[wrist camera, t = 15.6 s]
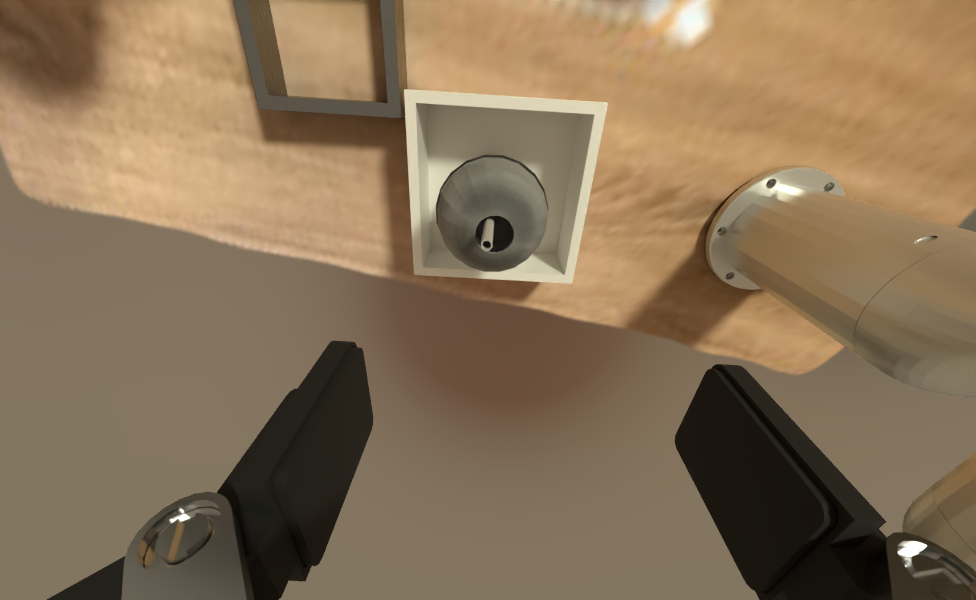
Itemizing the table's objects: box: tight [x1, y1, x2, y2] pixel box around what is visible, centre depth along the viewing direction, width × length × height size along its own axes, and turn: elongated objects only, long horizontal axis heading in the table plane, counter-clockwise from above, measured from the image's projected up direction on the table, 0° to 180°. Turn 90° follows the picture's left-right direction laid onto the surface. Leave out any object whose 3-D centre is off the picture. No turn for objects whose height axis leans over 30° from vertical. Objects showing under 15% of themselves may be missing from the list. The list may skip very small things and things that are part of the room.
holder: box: [233, 0, 407, 118], centre depth 27 cm, size 11×11×3 cm
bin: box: [404, 89, 608, 284], centre depth 31 cm, size 15×15×6 cm
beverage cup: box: [436, 155, 548, 272], centre depth 24 cm, size 7×7×20 cm
